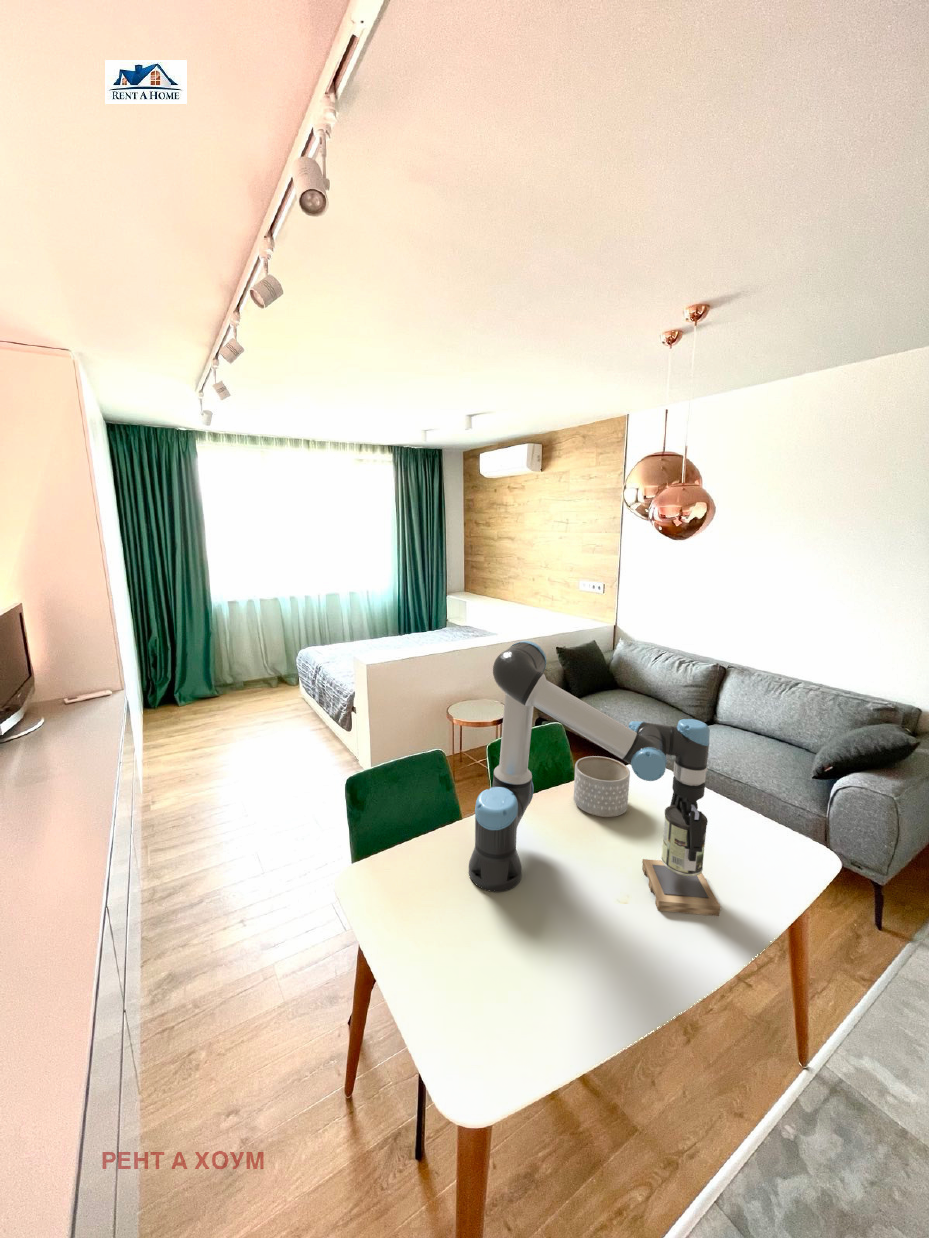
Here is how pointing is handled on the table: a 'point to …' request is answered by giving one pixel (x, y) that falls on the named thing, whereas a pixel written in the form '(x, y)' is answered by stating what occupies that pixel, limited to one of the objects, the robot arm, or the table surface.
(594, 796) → the planter
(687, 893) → the dock
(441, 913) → the table surface
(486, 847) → the robot arm
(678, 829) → the coffee can
